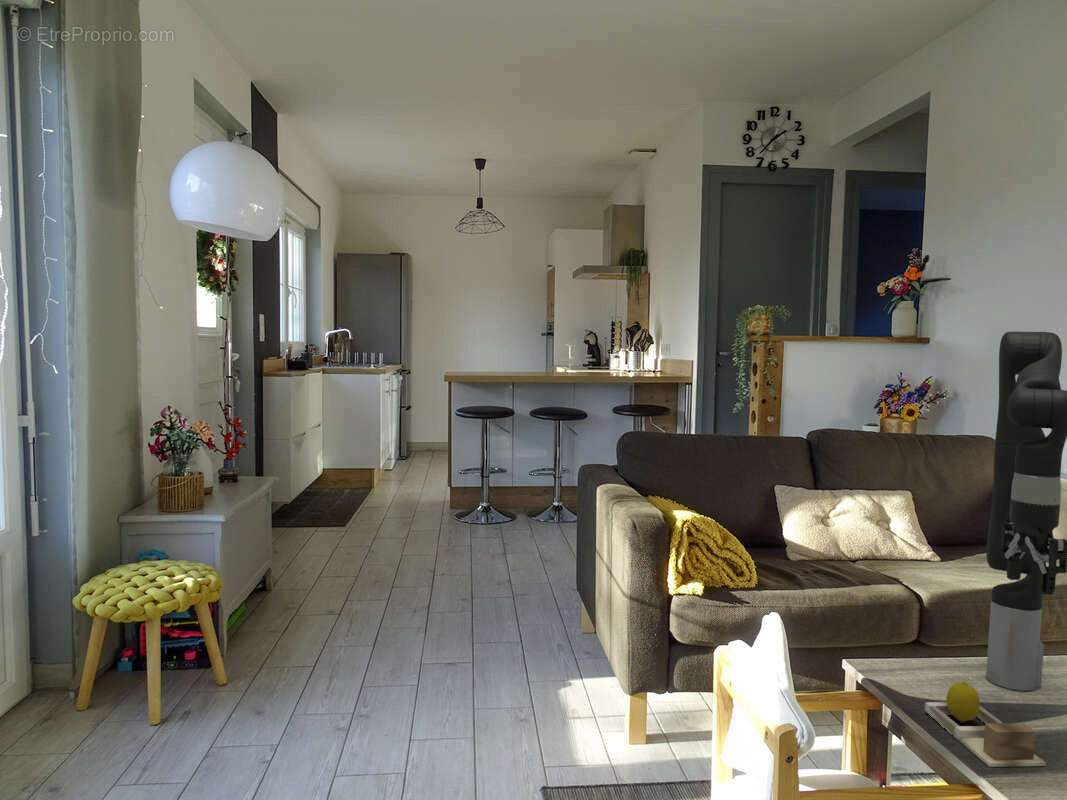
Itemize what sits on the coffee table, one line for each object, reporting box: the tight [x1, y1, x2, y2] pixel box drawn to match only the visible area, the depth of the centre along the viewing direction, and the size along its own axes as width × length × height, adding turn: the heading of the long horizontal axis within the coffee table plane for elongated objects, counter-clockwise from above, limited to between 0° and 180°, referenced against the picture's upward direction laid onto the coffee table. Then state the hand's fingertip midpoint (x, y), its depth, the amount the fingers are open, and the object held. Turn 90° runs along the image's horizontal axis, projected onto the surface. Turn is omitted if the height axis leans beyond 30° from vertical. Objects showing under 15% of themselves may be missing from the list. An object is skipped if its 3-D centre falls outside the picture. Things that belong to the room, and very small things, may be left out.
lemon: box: [945, 680, 981, 723], centre depth 147 cm, size 6×6×8 cm
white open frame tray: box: [924, 701, 1047, 768], centre depth 142 cm, size 10×20×6 cm, turn 4°
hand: (1029, 586), depth 141 cm, fingers open, 8 cm apart
